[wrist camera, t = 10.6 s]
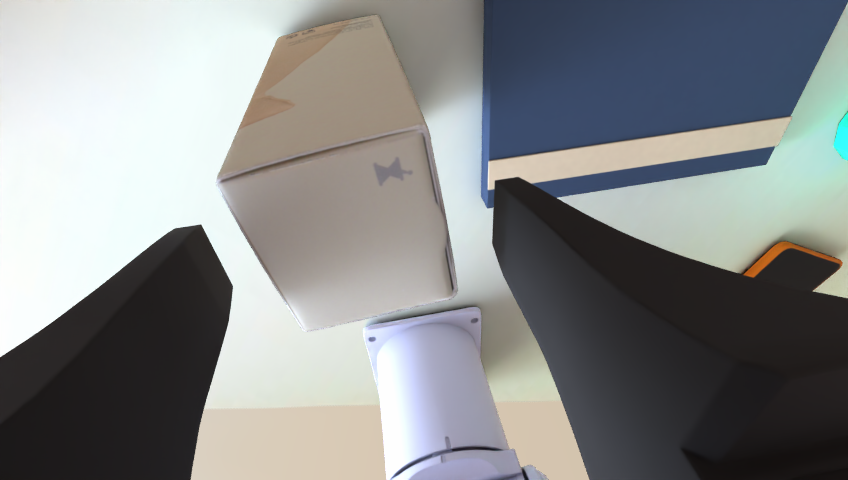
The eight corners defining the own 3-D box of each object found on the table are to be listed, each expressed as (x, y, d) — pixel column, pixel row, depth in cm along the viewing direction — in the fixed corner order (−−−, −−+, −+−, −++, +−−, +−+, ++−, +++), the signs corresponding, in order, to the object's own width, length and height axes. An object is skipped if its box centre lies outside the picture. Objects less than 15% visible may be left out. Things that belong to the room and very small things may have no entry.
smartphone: (838, 257, 31) (849, 264, 30) (683, 384, 39) (689, 392, 39) (778, 236, 28) (789, 244, 27) (626, 378, 37) (631, 386, 36)
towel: (749, 155, 23) (767, 165, 22) (480, 196, 22) (487, 209, 21) (912, -195, 15) (955, -204, 14) (486, -160, 13) (498, -168, 12)
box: (274, 35, 16) (196, 164, 7) (381, 11, 16) (431, 110, 7) (319, 154, 19) (301, 342, 10) (407, 134, 19) (462, 303, 11)
